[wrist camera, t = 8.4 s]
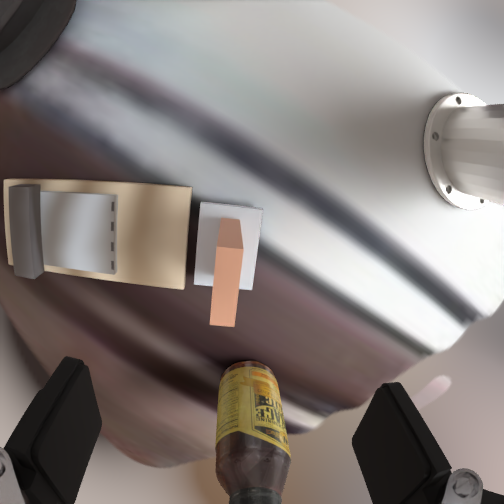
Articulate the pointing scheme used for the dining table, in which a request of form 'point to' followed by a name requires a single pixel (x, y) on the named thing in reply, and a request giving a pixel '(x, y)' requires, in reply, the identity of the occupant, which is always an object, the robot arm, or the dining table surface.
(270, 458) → the sauce bottle
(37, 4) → the casserole
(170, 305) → the dining table surface
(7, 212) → the ticket board
